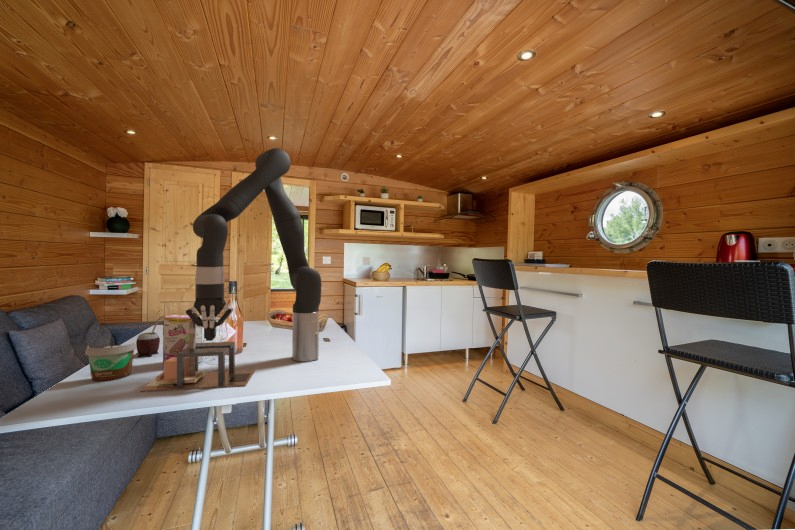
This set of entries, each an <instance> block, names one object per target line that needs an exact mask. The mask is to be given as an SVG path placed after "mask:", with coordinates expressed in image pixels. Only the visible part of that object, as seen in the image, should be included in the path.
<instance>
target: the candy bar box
mask: <svg viewBox="0 0 795 530" xmlns="http://www.w3.org/2000/svg"><path fill="white" fill-rule="evenodd" d="M198 316H199V317H200V318H201V319H202V315H198ZM189 321H192V319H191V318H190V317H189V316H188V315H187V314H186V315H184V314H171V315H165V316H163V317H162V364H163V365H164V362H165V361H167V360H168V359H170V358H171V357H177V353H179V352H180V351H182V350H183V349H187V347H188V346H189ZM202 330H203V327H201V326H197V325H196V324H195V343H203V341H202V340H203V335H202V334H203V333H202V332H203V331H202ZM202 360H203V356H198V364H201V363H202Z"/></svg>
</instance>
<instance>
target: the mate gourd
mask: <svg viewBox="0 0 795 530" xmlns="http://www.w3.org/2000/svg"><path fill="white" fill-rule="evenodd" d="M165 316H166V315H165V314H163V315H162V316H159V318H157V320H155V322H154V326H153V328H152V330H151V331H150V332H143V333H139V335H138V336H137V338H136V342H135V344H136V347H137V348H136V351H137V354H138V355H137V357H138V358H141V357H149V358H151V357H153V356H154V355H158V354H159V349H160V344H161V343H160V342H161V338H160V335H159V334H158V333H157V332H155V330H156V328H157V325H158V323H159V321H160V320H161V319H163V317H165Z"/></svg>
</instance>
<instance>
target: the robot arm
mask: <svg viewBox="0 0 795 530" xmlns="http://www.w3.org/2000/svg"><path fill="white" fill-rule="evenodd" d="M291 164H292V162H291V158H290V156H289V154H288V153H287V152H286V151H285V150H284V149H281V148H280V147H279V148H270V149H267V150H266V151H263V152H261V153H260V154H258V155H257V157H256V158H255V164H254V165H255V169H254V170H253V171H252V172H251V173H250V174H249V175H247V176H246V177H244V178H243V179H242V180H240V181H239V182H238V183H236V184H235V185H234V186H233V187H232V188H230V189H229V190H228V191H227V192H226V193H225V194H224V195H223V196H222V197H221V198H220V199H218V201H217V202H215V203H214V204H213V205H211V206H209V207H208V208H207V209H206V210H204V211H203V212H201V213H200V214H199V215H198V216H197V217H196V218H195V219H194V221H193V223H192V230H193V233H194V234H195V236H197V237H199V238H200V239H202V242H201V246H200V247H199V248H198V249H197V251H196V262H195V263H196V269H195V270H196V271H195V275H194V276H195V277H194V281H195V295H194V296H195V301H194V303H193V306H192V307H190V308H188V309H186V310H185V314H186V316H189V317H190V318H191V319H192V320H193V322H194V323H195V324H196V325H197V326H201V327H202V329H203V337H204V339H205V341H206V342H209V341H210V342H212V341H214V339H215V338H216V337H217V327H220V326H222V324H223V323H224V322H225V321H226V320H227V319H228V318H229V317H230V315H231V314H232V313H233V311H234V308H233V307H229V306H228V305H227V302H226V300H225V271H224V252H225V248H226V244H227V243H226V242H227V239H228V233H229V227H228V224H227V223H228V222H230V221H232V220H235V219H236V218H238V217H239V216H240V215H241V214H242V213H243V212H244V211H245V210H246V209H247V208H248V207H249V206H250V204H252V203H253V202H254V200H255V199H256V198H257V197H258V196H259V195H261V193H262V192H263V191H264V194H265V196H266V198H267V202H268V205H269V206H268V207H269V208H270V212H271V216H272V218H273V219H272V220H273V223H274V226H275V230H276V233H277V236H278V239H279V242H280V246H281V248H282V251H283V254H284V256H285V259H286V265H287V269H288V275H289V276H288V277H289V281H290V285H291V286H292V288H293V289H294V290H295V300H294V303H293V304H292V340H291V341H292V348H291V349H292V360H293V361H295V362H312V361H316V360H319V353H320V352H319V351H320V350H319V349H320V348H319V347H320V346H319V342H320V341H319V337H320V336H319V335H320V334H319V333H320V331H319V323H320V322H319V319H320V318H319V317H320V315H319V314H320V313H319V310H320V309H319V308H320V305H321V300H322V277H321V275H320V273H319V272H318V271H317V270H316V269H314V268H311V267H310V265H309V262H308V258H307V256H306V250H305V230H304V224H303V221H302V217H301V215H300V211H299V210H298V209H297V207H296V205H295V204H294V202H293V201H292V200H291V199H290V197H289V196H288V194H287V193H286V191H285V188H284V184H283V180H282V176H284V175H286V174H287V173H288V172H289V171H290V169H291V166H292V165H291ZM221 312H222V313H223V314H222V315H221V317H220V318H219V319H218V316H219V315H220V313H221ZM197 313H199V315H198V314H197ZM199 316H202V319H201V318H200V317H199Z"/></svg>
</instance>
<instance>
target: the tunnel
mask: <svg viewBox="0 0 795 530" xmlns="http://www.w3.org/2000/svg"><path fill="white" fill-rule="evenodd" d="M235 346H236V342H235V341H217V342H216V341H214V342H212V341H211V342H202V343H195V349H189V346H188V347H187V349H183V350H182V351H180V352H179V353H177V384H159V385H156V378H155V379H154V380H152V381H150V382H149V383H148V384H146V385H145V386H144V387H142V388H141V389H140V390H139V393H149V392H151V393H152V392H165V391H167V392H168V391H185V390H202V389H217V388H218V389H219V388H220V389H221V388H222V389H223V388H235V387H238V388H239V387H240V388H241V387H246V386H247V385H248V383H249V382H250V380H251V379H252V377H253V375H254V374H255V373H256V370H255V369H253V370H252V369H251V370H236V369H235V368H236V367H235V365H236V363H235V361H236V347H235ZM227 353H228V371H226V354H227ZM198 356H202V357H211V356H212V357H217V371H214V372H213V371H211V372H204V375H203V376H202V377H201V378H200V379H199V380H197V381H196V382H195V383H184V357H195V372H198V371H199V363H198Z"/></svg>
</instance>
